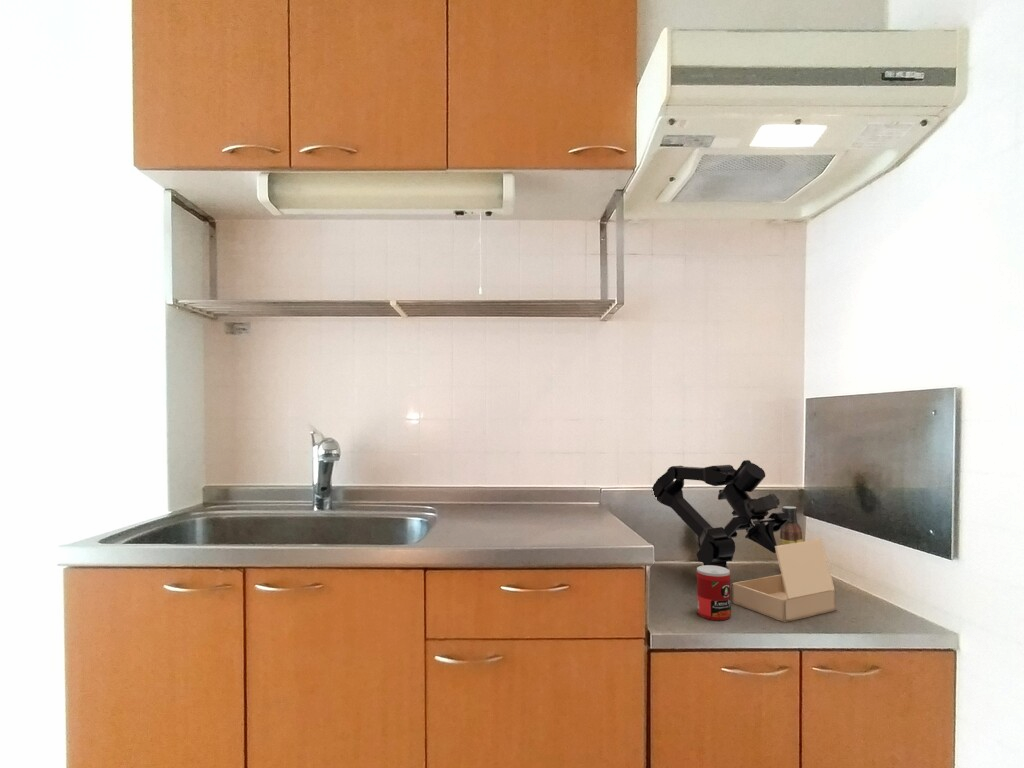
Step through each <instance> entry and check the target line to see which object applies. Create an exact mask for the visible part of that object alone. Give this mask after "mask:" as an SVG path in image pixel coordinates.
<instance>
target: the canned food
mask: <svg viewBox="0 0 1024 768" xmlns="http://www.w3.org/2000/svg"><path fill="white" fill-rule="evenodd" d="M730 571H731V570H730V568H729V569H727V568H724V567H720V566H713V565H700V566H697V567H696V601H697V603H696V604H697V605H696V606H697V613H698V615H699V616H700V617H702V618H704V619H707V620H711V621H726V620H729V619H730V618H731V615H732V585H731V572H730Z"/></svg>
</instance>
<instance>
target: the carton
mask: <svg viewBox="0 0 1024 768" xmlns="http://www.w3.org/2000/svg"><path fill="white" fill-rule="evenodd" d="M836 592H837V591H836V589H835V588H834V589H833V590H828V591H824V592H819V593H814V594H809V595H804V596H800V597H795V598H790V599H787V597H786V593H785V588H784V584H783V580H782V576H781V573H780V574H775V575H769V576H764V577H758V578H751V579H748V580H743V581H737V582H736V581H735V582H732V583H731V604H734V605H737V606H739V607H742V608H745V609H748V610H750V611H754V612H755V613H759V614H760V615H764V616H767V617H769V618H772V619H775V620H777V621H780V622H783V623H788V622H791V621H796V620H800V619H805V618H810V617H813V616H814V617H815V616H818V615H819V616H820V615H822V614H827V613H828V614H829V613H831V612H835V611H837V598H836V594H837V593H836Z"/></svg>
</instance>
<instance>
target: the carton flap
mask: <svg viewBox="0 0 1024 768" xmlns="http://www.w3.org/2000/svg"><path fill="white" fill-rule="evenodd" d="M775 550H776V553H775V554H776V558H777V562H778V567H779V570H780V574H781V576H782V580H783V584H784V588H785V593H786V597H787V599H790V598H795V597H800V596H804V595H809V594H814V593H819V592H824V591H828V590H833V589H834V590H835V586H834V582H833V577H832V574H831V571H830V566H829V563H828V560H827V554H826V551H825V547H824V544H823V540H822V538H819V539H814V540H806V541H803V542H798V543H792V544H785V545H781V544H780V545H778V544H777V546H775Z"/></svg>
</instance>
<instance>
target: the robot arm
mask: <svg viewBox="0 0 1024 768" xmlns="http://www.w3.org/2000/svg"><path fill="white" fill-rule="evenodd" d="M765 477H766V472H765V471H764V469H763V467H760V466H759V465H757V464H755V463H753V462H751V460H749V459H745V460H744V459H743V460H742V461H741V463H740V465H739V467H738V468H737V469H735V468H734V466H733V465H731V464H721V465H719V464H718V465H710V466H709V465H708V466H705V467H699V466H698V467H697V466H684V465H673V466H670V467H668V469H667V470H666V472H664V473H663V474H662V475H661V476H659V477H658V478H657V479H656V481H655V482H654V484H653V485H652V488H651V490H652V489H653V491H654V495H655V497H657V500H656V501H658V502H659V503H660V504H661V505H663V506H667V507H669V508H670V509H671V510H673V511H674V513H676V514H677V516H678V517H679V518H680V519H681V520H682V521H683V522H684V523H685V524H686V526H688V528H689V529H690V530H691V531H692V532H693V533H694V534H695V536H697V537H698V539H699V544H700V549H699V550H698V551H697V552H696V558H697V561H698V562H699V563H702V566H704V565H713V566H720V567H724V568H727V569H729V570H730V567H729V565H727V564H728V562H733V558H734V554H735V552H736V542H735V541H734V538H737V537H738V532H737V531H742V530H745V532H746V535H744V538H745V539H748V540H750V541H752V542H754V543H756V544H758V545H759V546H761V547H763V548H765V549H766V550H768V551H770V552H771V553H773V554H776V550H775V546H778V544H777V542H776V538H775V535H774V533H776V532H779V531H780V530H781V528H782V527H783V526H784V525H785V524H786V523H787V522H788V520H789V519H790V518H789V517H788V516H787V514H786V513H785V512H783V511H777V512H771V514H770V515H769V511H771V510H774V509H775V510H776V509H778V508H779V507H778V506H779V505H780V503H781V502H780V499H779V497H777V496H776V495H775V493H769V494H768V495H765V496H762V497H759V498H752V497H751V496H750V495H749V493H751V492H753V491H754V490H756V488H757V487H758V486H759V485H760V484H761V482H762V481H763V480H764V479H765ZM685 480H688V481H700V482H701V481H702V482H704V483H705V484H707V485H709V486H712V487H721V486H723V488H722V489H719V490H718V495H717V499H718V500H719V501H722V500H726V501H727V503H728V505H729V506H730V507H731V508H732V509H731V510H732V512H731V515H732V516H733V517H732V518H731V519H730V520H729V521H728V522H727V524H726V525H725V526H724V527H722V526H720V527H714V526H713V527H712V525H711V524H709V523H710V522H707V520H706V519H705V518H704V517H703V516H702V515H701V514H700V513H699V512H698V511H697V510H696V509H695V508H694V507H693V506H692V504H690V503H689V502H688V501H687V500H686V499H685V498H684V492H683V488H684V486H685ZM768 515H769V516H768ZM766 516H768V517H767V518H766Z"/></svg>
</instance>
